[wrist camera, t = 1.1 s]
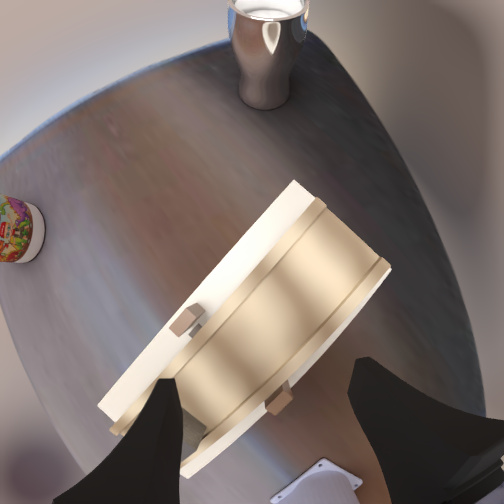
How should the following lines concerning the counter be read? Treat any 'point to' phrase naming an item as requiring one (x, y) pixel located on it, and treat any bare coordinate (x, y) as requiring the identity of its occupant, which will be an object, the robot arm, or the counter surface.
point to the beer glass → (266, 47)
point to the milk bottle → (19, 230)
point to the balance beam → (269, 324)
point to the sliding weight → (191, 434)
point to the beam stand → (203, 309)
